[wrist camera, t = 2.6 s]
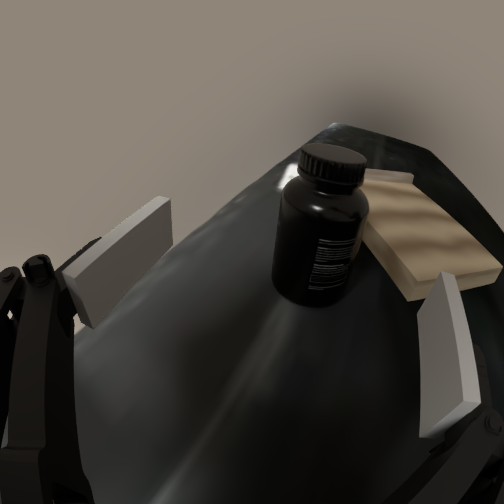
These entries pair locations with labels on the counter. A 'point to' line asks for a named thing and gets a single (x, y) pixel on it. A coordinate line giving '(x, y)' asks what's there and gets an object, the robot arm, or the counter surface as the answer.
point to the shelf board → (420, 238)
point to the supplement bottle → (320, 225)
